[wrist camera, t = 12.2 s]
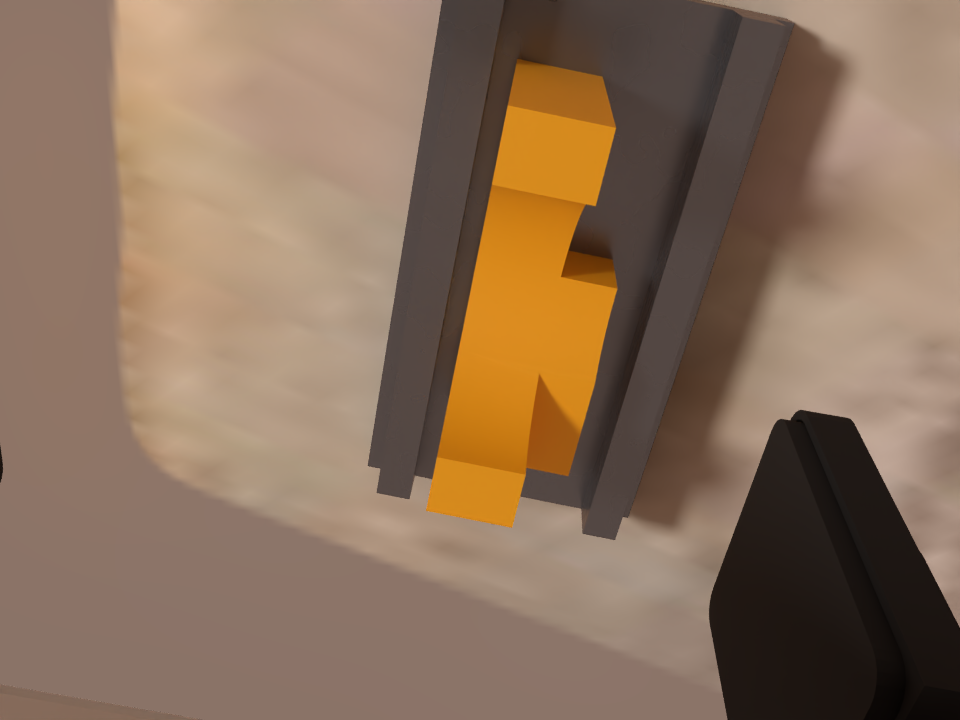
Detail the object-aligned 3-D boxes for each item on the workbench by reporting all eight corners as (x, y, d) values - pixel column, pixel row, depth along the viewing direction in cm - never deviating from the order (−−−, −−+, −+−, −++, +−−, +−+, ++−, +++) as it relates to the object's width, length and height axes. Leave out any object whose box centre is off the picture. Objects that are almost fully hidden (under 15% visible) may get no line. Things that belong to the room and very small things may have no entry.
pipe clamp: (566, 424, 33) (570, 539, 27) (448, 400, 32) (426, 510, 27) (660, 88, 27) (689, 143, 21) (517, 58, 27) (507, 105, 21)
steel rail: (786, 18, 27) (807, 30, 24) (626, 501, 35) (631, 543, 33) (453, -53, 26) (444, -47, 24) (372, 451, 35) (360, 489, 33)
